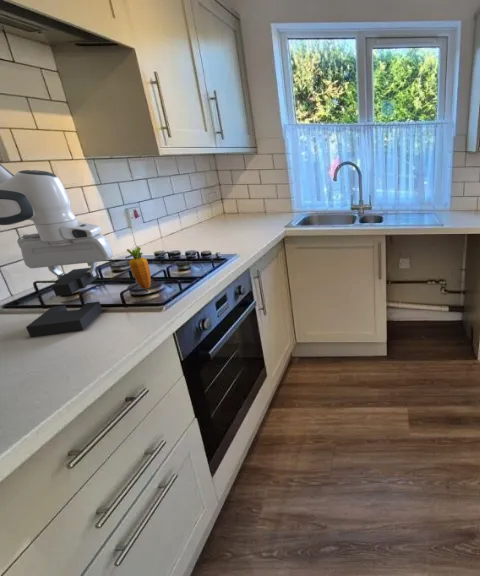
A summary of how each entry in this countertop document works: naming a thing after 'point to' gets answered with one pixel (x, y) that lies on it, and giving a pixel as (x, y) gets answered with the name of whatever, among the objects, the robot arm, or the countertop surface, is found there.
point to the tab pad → (73, 281)
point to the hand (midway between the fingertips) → (78, 278)
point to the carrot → (140, 268)
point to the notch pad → (64, 320)
